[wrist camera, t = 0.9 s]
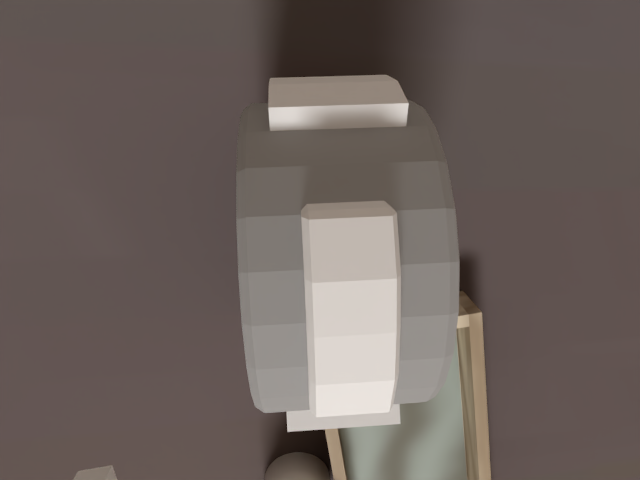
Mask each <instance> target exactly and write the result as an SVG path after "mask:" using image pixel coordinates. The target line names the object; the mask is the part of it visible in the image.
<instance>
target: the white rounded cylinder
mask: <svg viewBox="0 0 640 480" xmlns="http://www.w3.org/2000/svg"><path fill="white" fill-rule="evenodd" d="M264 480H330V476H329V471H328V468H327V466H326V465H325V463H324V462H323V461H322V460H321V459H319V458H318V457H316V456H314V455H312V454H309V453H304V452H293V453H288V454H285V455H282V456H280V457H278V458H277V459H275V460H274V461H273V462H272V463H271V464H270V465H269V467H268V468H267V470H266V472H265V476H264Z"/></svg>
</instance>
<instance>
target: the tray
mask: <svg viewBox="0 0 640 480" xmlns="http://www.w3.org/2000/svg"><path fill="white" fill-rule="evenodd" d="M399 405H400V423H401V424H393V425H379V426H365V427H350V428H336V429H325V433H326V439H327V444H328V450H329V455H330V461H331V466H332V472H333V477H334V480H491V470H490V452H489V434H488V415H487V397H486V379H485V360H484V342H483V324H482V312H481V311H480V310H479V308H478V307H477V306H476V305H475V304H474V303H473V302H472V301H471V300H470V298H469V297H468V296H467V295H466V294H465V293H464V292H463V291H459V314H458V322H457V330H456V338H455V347H454V354H453V358H452V361H451V365H450V368H449V372H448V375H447V378H446V382H445V384H444V385H443V387H442V388H441V389H440V391H439V392H438V394H437V395H436V397H434V398H432V399H431V400H429V401H427V402H419V403H405V404H399Z"/></svg>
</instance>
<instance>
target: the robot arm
mask: <svg viewBox="0 0 640 480" xmlns="http://www.w3.org/2000/svg"><path fill="white" fill-rule="evenodd" d="M73 480H117V478H116V475H115V472H114V469H113V466H112V465H111V466H105V467H99V468H93V469H88V470H82V471H78V472H77V474H76V476H75V478H74V479H73Z"/></svg>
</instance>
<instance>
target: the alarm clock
mask: <svg viewBox="0 0 640 480" xmlns="http://www.w3.org/2000/svg"><path fill="white" fill-rule="evenodd" d="M236 224H237V251H238V276H239V290H240V305H241V320H242V330H243V340H244V349H245V358H246V367H247V373H248V379H249V385H250V391H251V395H252V398H253V401H254V404H255V407H257V408H258V409H259V410H261V411H262V412H264V413H272V412H287V432H293V431H307V430H322V429H336V428H350V427H365V426H379V425H393V424H401V423H400V405H399V404H405V403H419V402H427V401H429V400H431V399H432V398H434V397H436V395H437V394H438V392H439V391H440V389H441V388H442V387H443V385H444V384H445V382H446V378H447V375H448V372H449V368H450V365H451V361H452V358H453V354H454V347H455V338H456V330H457V322H458V314H459V278H460V257H459V245H458V232H457V220H456V210H455V204H454V199H453V193H452V187H451V182H450V176H449V171H448V166H447V162H446V158H445V155H444V152H443V149H442V146H441V142H440V139H439V136H438V133H437V130H436V128H435V126H434V124H433V122H432V121H431V119H430V117H429V115H428V114H427V112H426V110H425V109H424V108H423V107H421V106H419V105H418V104H416V103H414V102H412V101H410V100H407V99H406V97H405V95H404V93H403V91H402V89H401V86H400V84H399V82H398V81H397V80H395V79H393V78H392V77H390V76H388V75H359V76H323V77H288V78H270V81H269V97H268V103H251V104H250V105H249V106H248V107H246V108H245V109H244V110H243V112H242V115H241V117H240V124H239V132H238V142H237V166H236Z"/></svg>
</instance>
